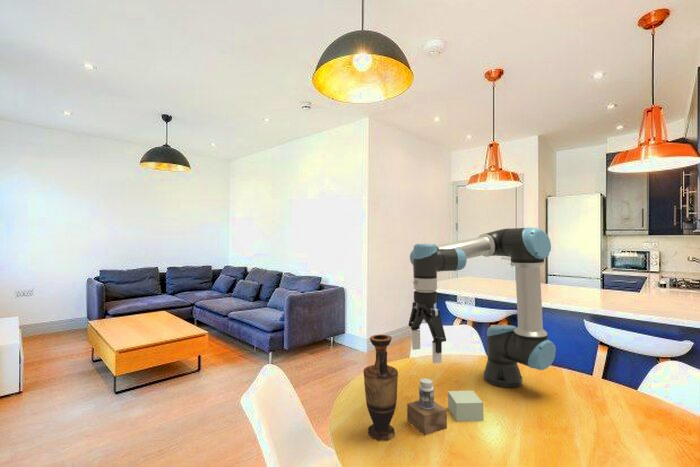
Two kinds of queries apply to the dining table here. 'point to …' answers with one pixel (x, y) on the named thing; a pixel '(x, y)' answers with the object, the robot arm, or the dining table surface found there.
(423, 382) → the pill bottle
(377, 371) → the vase
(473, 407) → the sage block
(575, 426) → the dining table surface
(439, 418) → the walnut block
